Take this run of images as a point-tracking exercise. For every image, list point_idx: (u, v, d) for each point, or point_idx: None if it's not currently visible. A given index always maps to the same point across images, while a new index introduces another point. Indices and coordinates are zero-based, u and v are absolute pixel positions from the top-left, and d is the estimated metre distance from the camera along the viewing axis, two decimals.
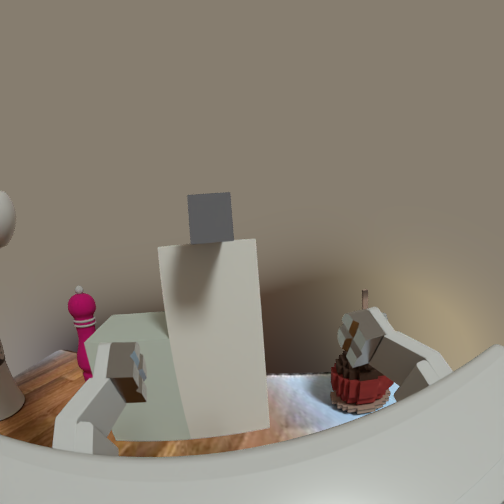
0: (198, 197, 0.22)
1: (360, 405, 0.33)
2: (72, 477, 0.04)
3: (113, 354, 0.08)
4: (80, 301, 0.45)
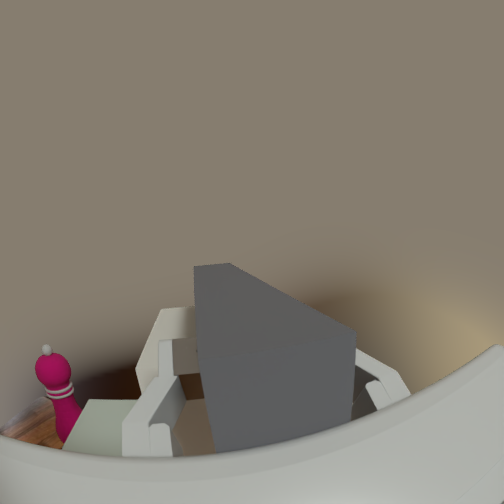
0: (243, 365, 0.05)
1: None
2: (72, 477, 0.04)
3: (177, 350, 0.09)
4: (49, 368, 0.28)
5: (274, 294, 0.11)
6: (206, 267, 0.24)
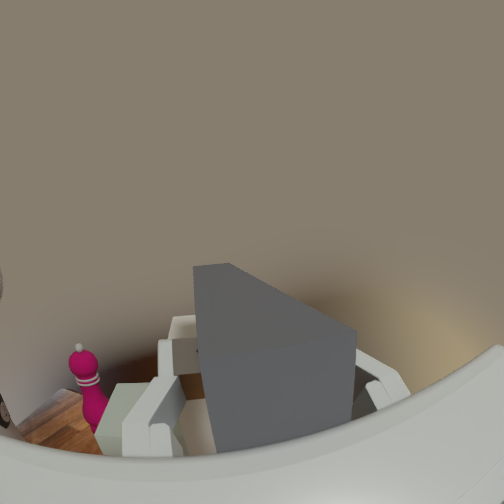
0: (244, 365, 0.05)
1: None
2: (72, 477, 0.04)
3: (177, 350, 0.09)
4: (81, 361, 0.40)
5: (274, 294, 0.11)
6: (205, 267, 0.24)
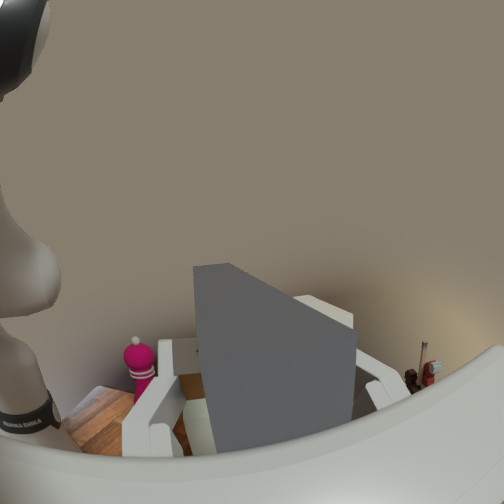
0: (244, 365, 0.05)
1: None
2: (72, 477, 0.04)
3: (177, 351, 0.09)
4: (140, 354, 0.45)
5: (274, 294, 0.11)
6: (205, 267, 0.24)
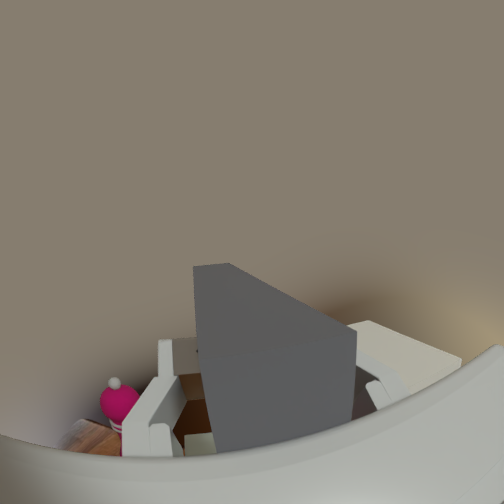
0: (244, 365, 0.05)
1: None
2: (72, 477, 0.04)
3: (177, 350, 0.09)
4: (121, 403, 0.28)
5: (274, 294, 0.11)
6: (205, 267, 0.24)
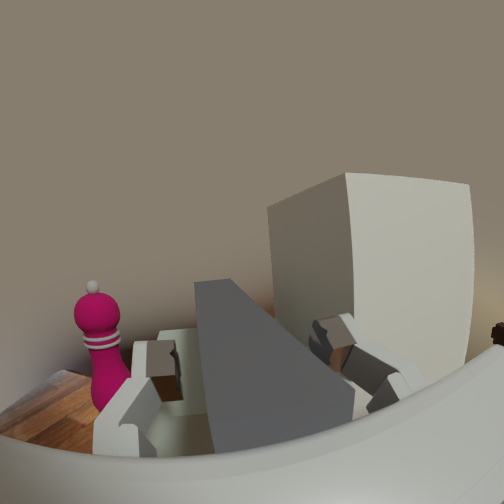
0: (250, 425, 0.05)
1: None
2: (72, 477, 0.04)
3: (151, 352, 0.08)
4: (96, 306, 0.27)
5: (276, 331, 0.11)
6: (207, 284, 0.24)
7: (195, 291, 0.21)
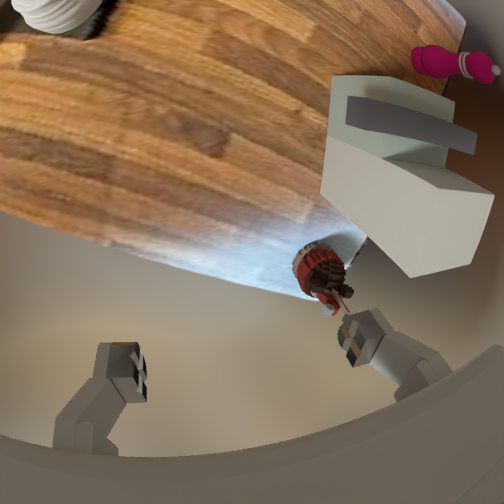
0: (365, 105, 0.24)
1: (302, 258, 0.55)
2: (72, 477, 0.04)
3: (113, 354, 0.08)
4: (481, 69, 0.24)
5: (401, 133, 0.26)
6: (468, 137, 0.28)
7: None
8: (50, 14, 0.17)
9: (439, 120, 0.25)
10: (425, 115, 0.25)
